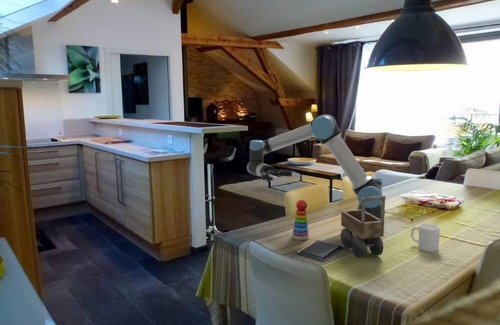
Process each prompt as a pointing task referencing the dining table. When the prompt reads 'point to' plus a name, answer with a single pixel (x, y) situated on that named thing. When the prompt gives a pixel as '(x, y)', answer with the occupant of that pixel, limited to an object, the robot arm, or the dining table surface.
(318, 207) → the dining table surface
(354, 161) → the robot arm
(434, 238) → the cup
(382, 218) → the trolley
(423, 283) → the dining table surface
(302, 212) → the stacking toy
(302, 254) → the dark navy book
